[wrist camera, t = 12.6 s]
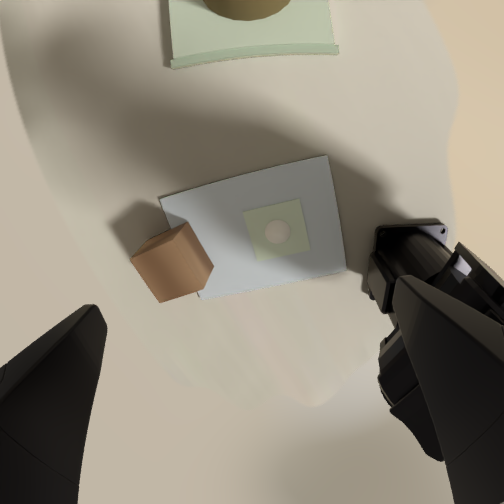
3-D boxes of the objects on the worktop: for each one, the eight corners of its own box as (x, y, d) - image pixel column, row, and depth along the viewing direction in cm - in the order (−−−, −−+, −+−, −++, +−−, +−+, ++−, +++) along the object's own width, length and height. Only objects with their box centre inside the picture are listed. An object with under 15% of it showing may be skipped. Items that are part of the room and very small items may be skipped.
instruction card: (326, 154, 18) (327, 155, 18) (346, 269, 22) (347, 271, 22) (160, 198, 20) (158, 200, 20) (201, 298, 24) (200, 301, 24)
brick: (188, 221, 21) (172, 239, 18) (214, 266, 22) (203, 289, 20) (147, 240, 22) (129, 259, 19) (173, 280, 24) (159, 303, 21)
